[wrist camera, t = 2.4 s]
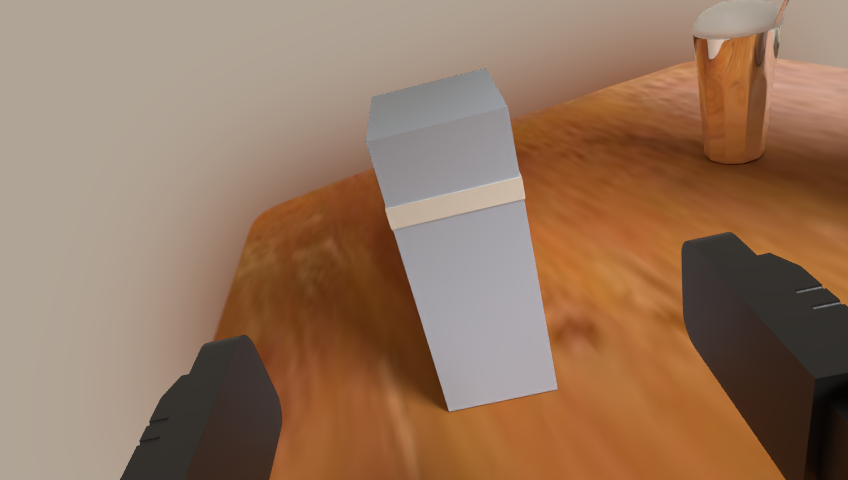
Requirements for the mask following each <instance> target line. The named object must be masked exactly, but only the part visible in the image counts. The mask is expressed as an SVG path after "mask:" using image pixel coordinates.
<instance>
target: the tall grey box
mask: <svg viewBox="0 0 848 480" xmlns="http://www.w3.org/2000/svg"><path fill="white" fill-rule="evenodd" d="M366 143H367V146H368V150H369V154H370V157H371V160H372V163H373V166H374V170H375V173H376V176H377V179H378V183H379V186H380V189H381V192H382V196H383V199H384V202H385V211H386V214H387V218H388V221H389V224H390V227H391V230H393V231H394V235H395V238H396V241H397V244H398V248H399V251H400V254H401V257H402V260H403V264H404V267H405V270H406V273H407V277H408V280H409V283H410V286H411V290H412V293H413V296H414V299H415V303H416V306H417V309H418V312H419V316H420V319H421V322H422V325H423V329H424V332H425V335H426V338H427V342H428V345H429V348H430V351H431V355H432V358H433V361H434V364H435V367H436V371H437V374H438V377H439V380H440V384H441V387H442V390H443V393H444V397H445V400H446V403H447V406H448V410H449V412H450V411H455V410H460V409H465V408H469V407H474V406H479V405H484V404H489V403H494V402H498V401H503V400H508V399H513V398H518V397H523V396H527V395H532V394H537V393H542V392H547V391H551V390H556V389H558V388H557V383H556V377H555V371H554V366H553V360H552V354H551V349H550V343H549V337H548V332H547V326H546V320H545V315H544V309H543V303H542V298H541V292H540V286H539V281H538V275H537V270H536V264H535V258H534V253H533V247H532V241H531V236H530V230H529V224H528V219H527V213H526V207H525V202H524V199H526V198H525V192H524V186H523V180H522V176H521V174H520V172H519V168H518V162H517V156H516V151H515V145H514V139H513V134H512V128H511V122H510V117H509V111H508V106H507V104H506V103H505V101H504V99H503V97H502V96H501V94H500V92H499V90H498V88H497V87H496V85H495V83H494V81H493V79H492V78H491V76H490V74H489V72H488V70H487V69H486V68H484V69H480V70H476V71H472V72H468V73H465V74H460V75H456V76H453V77H449V78H445V79H441V80H437V81H433V82H429V83H425V84H421V85H417V86H413V87H409V88H405V89H402V90H398V91H394V92H390V93H386V94H382V95H378V96H374V97H372V99H371V107H370V115H369V122H368V130H367V137H366Z"/></svg>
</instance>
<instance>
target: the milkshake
mask: <svg viewBox="0 0 848 480" xmlns="http://www.w3.org/2000/svg"><path fill="white" fill-rule="evenodd" d="M788 2H789V0H784V2H783V4H782V7H781V9H780V8H779V7H778V6H777V5H775V4H774V3H771V2H768V1H765V0H736V1H735V0H734V1H725V2H720V3H718V4H716V5H714V6H712V7H710V8H708V9H707V10H705V11H704V12H702V13H701V14H700V16H699V17H698V18H697V20H696V21H695V23H694V24H693V27H692V34H693V43H694V51H695V59H696V67H697V75H698V86H699V97H700V108H701V119H702V130H703V141H704V151H705V155H706V156H707V157H708V158H709V159H710V160H711V161H714V162H719V163H723V164H738V163H746V162H749V161H752V160H755V159H758V158H759V157H760V156H761V154H762V153H763V151H764V149H765V142H766V135H767V127H768V120H769V112H770V105H771V98H772V90H773V83H774V75H775V68H776V62H777V56H778V50H779V44H780V38H781V32H782V26H783V20H784V13H783V12H784V10H785V8H786V6H787V4H788Z"/></svg>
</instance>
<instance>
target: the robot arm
mask: <svg viewBox="0 0 848 480" xmlns="http://www.w3.org/2000/svg"><path fill="white" fill-rule="evenodd" d="M682 293H683V316H684V322H685V326H686V329H687V332H688V335H689V337H690V340H691V342H692V344H693V345H694V347H695V349H696V350H697V351H698V353H699V354H700V356H701V357H702V359H703V360H704V362H705V363H706V364H707V366H708V367H709V369H710V370H711V372H712V373H713V375H714V376H715V377H716V379H717V380H718V382H719V383H720V385H721V386H722V388H723V389H724V391H725V392H726V393H727V395H728V396H729V398H730V399H731V401H732V402H733V404H734V405H735V406H736V408H737V409H738V411H739V412H740V414H741V415H742V417H743V418H744V419H745V421H746V422H747V424H748V425H749V427H750V428H751V430H752V431H753V433H754V434H755V435H756V437H757V438H758V440H759V441H760V443H761V444H762V446H763V447H764V448H765V450H766V451H767V453H768V454H769V456H770V457H771V459H772V460H773V461H774V463H775V464H776V466H777V467H778V469H779V470H780V472H781V473H782V474H783V476H784V477H785V479H786V480H848V307H847V306H846V305H845V304H843V305H842V304H841V303H840V300H839V299H838V298H837V297H836V296H835V295H833V294H832V293H831V292H830V291H829V290H828V289H827V288H825V289H823V287H822V284H821V283H820V282H818V281H817V280H816V279H815V278H814V277H813V276H811V275H810V274H809V273H808V272H807V271H806V270H805V269H803V268H802V267H801V266H799V265H797V264H795V263H792V262H790V261H788V260H785V259H783V258H781V257H778V256H776V255H774V254H771V253H767V254H762V255H756V254H755V253H754V252H753V251H752V250H751V249H750V248H749V247H748V246H747V245H745V244H744V243H743V242H742V241H741V240H740V239H739V238H738V237H737V236H736V235H735V234H733V233H731V232H726V233H722V234H717V235H712V236H708V237H703V238H698V239H694V240H689V241H685V242H684V244H683V246H682ZM149 422H150V426H147V427H146V429H145V431H144V433H143V435H142V437H141V439H140V445H139V446H137V447H136V449H135V451H134V453H133V455H132V457H131V459H130V461H129V463H128V465H127V467H126V469H125V471H124V473H123V475H122V477H121V479H120V480H269V478H270V474H271V470H272V466H273V461H274V457H275V453H276V448H277V444H278V440H279V436H280V431H281V426H282V412H281V405H280V401H279V397H278V395H277V392H276V390H275V388H274V386H273V384H272V382H271V380H270V378H269V375H268V373H267V371H266V369H265V367H264V365H263V363H262V361H261V358H260V356H259V354H258V352H257V350H256V348H255V346H254V344H253V342H252V341H251V339H250V338H249V337H248V336H246V335H242V336H237V337H233V338H228V339H223V340H219V341H214V342H210V343H206V344H204V345H203V346H202V348H201V350H200V352H199V354H198V356H197V358H196V360H195V362H194V365H193V367H192V369H191V371H190V373H189V374H188V375H183V376H181V377H180V378H179V379H178V380H177V381H176V383H174V384H173V386H172V387H171V388H170V389H169V390H168V391H167V392H166V393H165V394H164V395H163V396H162V397H161V399H160V401H159V403H158V405H157V407H156V409H155V411H154V413H153V415H152V417H151V419H150V421H149Z"/></svg>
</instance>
